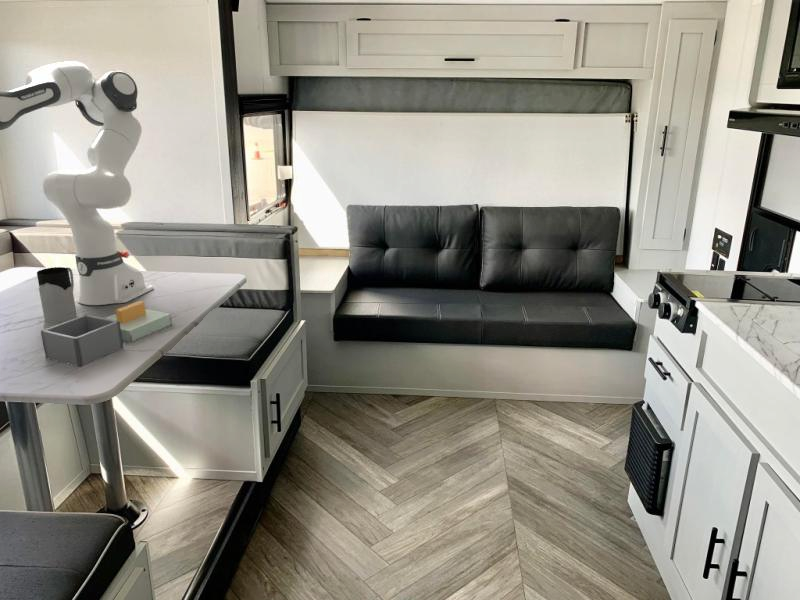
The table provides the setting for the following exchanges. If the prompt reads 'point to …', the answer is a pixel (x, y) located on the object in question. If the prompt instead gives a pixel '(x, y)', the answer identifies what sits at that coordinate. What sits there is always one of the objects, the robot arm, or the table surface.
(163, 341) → the table surface
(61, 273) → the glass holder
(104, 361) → the table surface
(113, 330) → the parts tub
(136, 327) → the lid
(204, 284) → the table surface
